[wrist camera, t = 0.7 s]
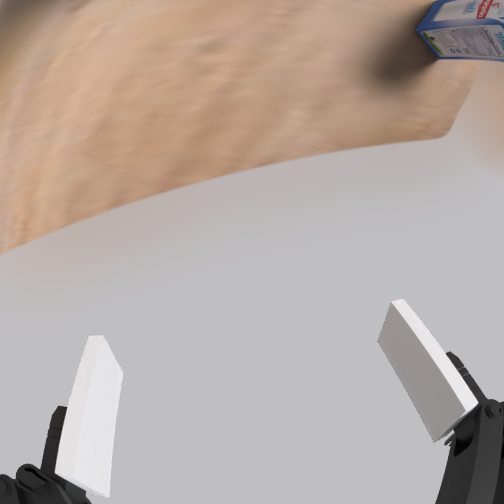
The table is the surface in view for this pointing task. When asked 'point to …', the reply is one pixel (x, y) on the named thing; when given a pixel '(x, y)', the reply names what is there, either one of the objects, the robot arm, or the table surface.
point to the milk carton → (465, 29)
